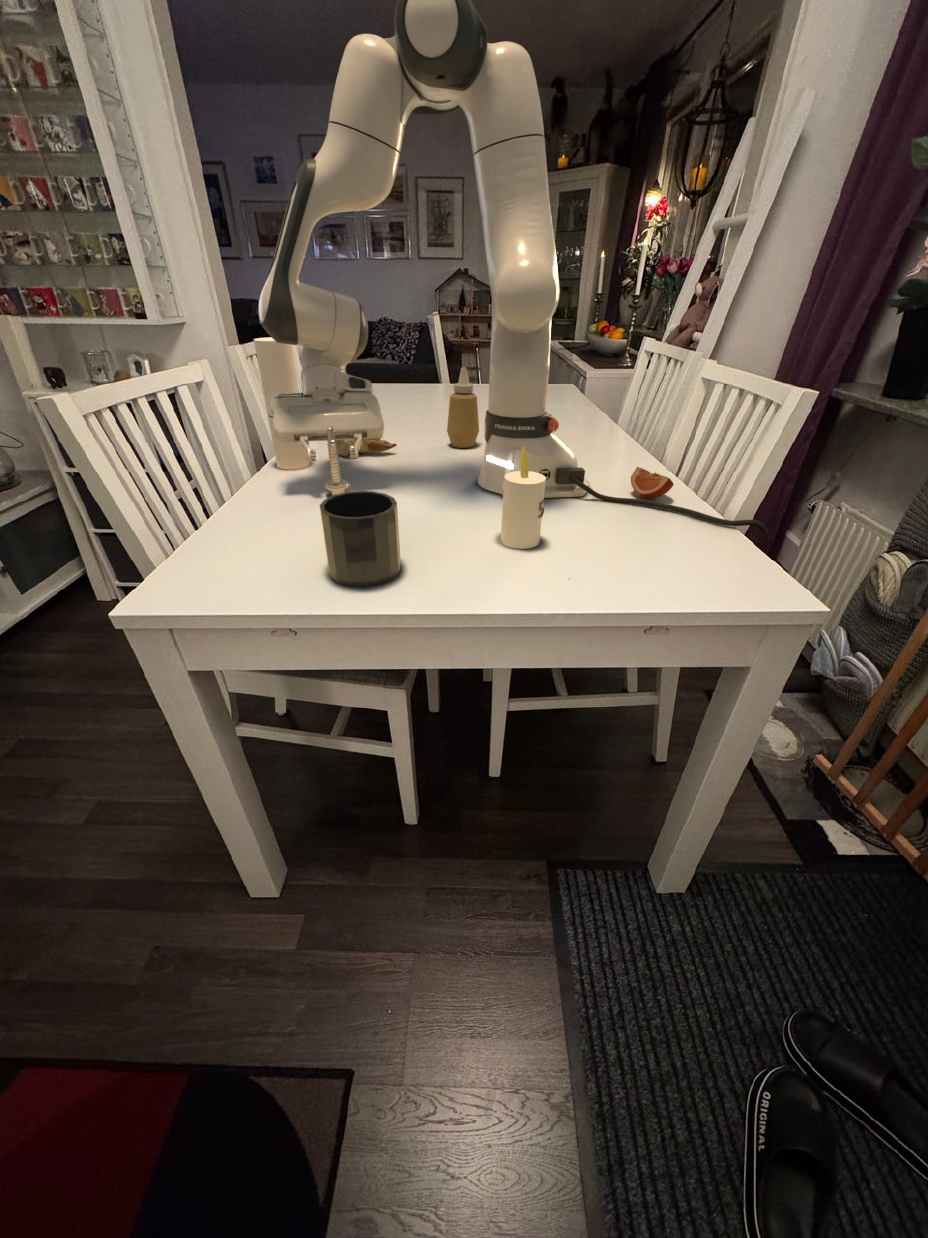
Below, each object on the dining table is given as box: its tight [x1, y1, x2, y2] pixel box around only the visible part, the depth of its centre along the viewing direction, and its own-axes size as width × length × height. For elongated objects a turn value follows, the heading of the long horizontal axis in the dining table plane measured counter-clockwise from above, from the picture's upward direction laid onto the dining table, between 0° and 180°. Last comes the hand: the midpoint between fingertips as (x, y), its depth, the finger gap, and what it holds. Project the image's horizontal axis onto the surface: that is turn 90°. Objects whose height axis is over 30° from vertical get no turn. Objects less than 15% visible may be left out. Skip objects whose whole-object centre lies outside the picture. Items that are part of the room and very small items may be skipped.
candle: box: [500, 446, 546, 550], centre depth 81 cm, size 6×6×15 cm
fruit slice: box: [630, 466, 674, 500], centre depth 101 cm, size 8×7×5 cm
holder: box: [318, 490, 402, 588], centre depth 73 cm, size 10×10×10 cm
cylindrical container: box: [253, 337, 311, 471], centre depth 110 cm, size 7×7×25 cm
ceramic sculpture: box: [335, 434, 398, 457], centre depth 123 cm, size 11×9×15 cm
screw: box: [323, 426, 351, 496], centre depth 98 cm, size 13×5×5 cm
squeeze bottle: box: [446, 366, 480, 449], centre depth 127 cm, size 8×8×18 cm
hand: (333, 458), depth 97 cm, fingers open, 6 cm apart
